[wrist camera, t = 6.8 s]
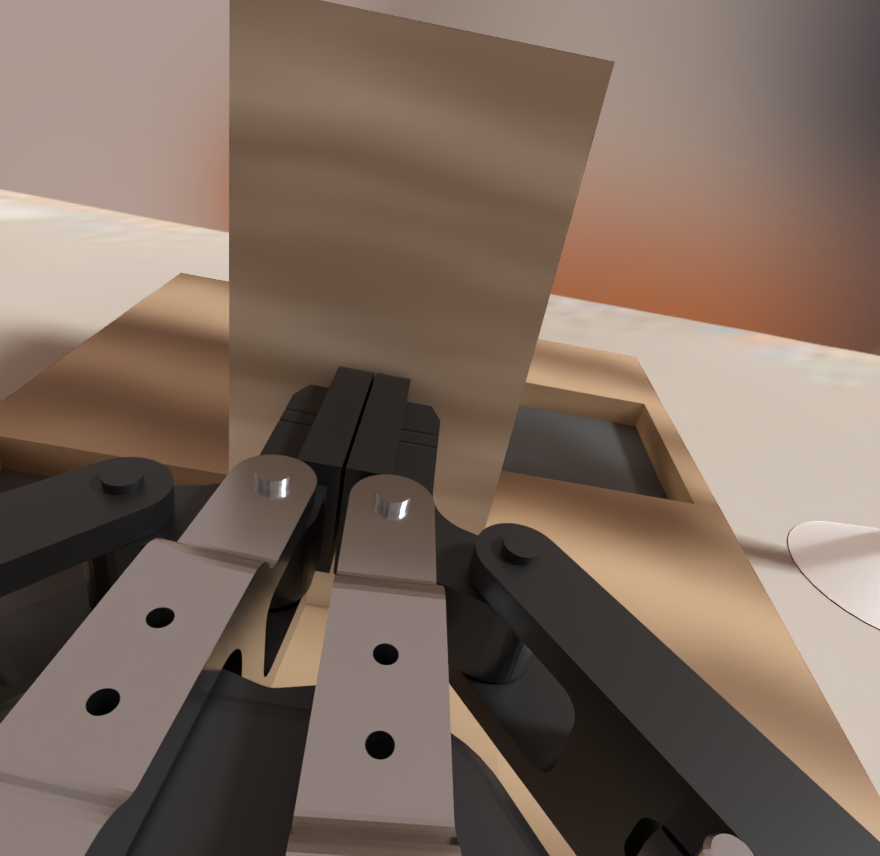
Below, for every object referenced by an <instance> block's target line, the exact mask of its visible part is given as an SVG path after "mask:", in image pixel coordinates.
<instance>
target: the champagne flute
mask: <svg viewBox="0 0 880 856" xmlns="http://www.w3.org/2000/svg"><path fill="white" fill-rule="evenodd" d="M788 545H789V550H790V552H791V555H792V557H793V559H794V561H795V562H796V564H797V565H798V567H799V568H800V570H801V571H802V572H803V573H804V575H805V576H806V577H807V578H808V579H809V580H810V581H811V582H812V583H813V584H814V585H815V586H816V587H817V588H818V589H819V590H820V591H822V592H823V593H824V594H825V595H826V596H827V597H828V598H830V599H831V600H832V601H834V602H835V603H837V604H838V605H839V606H841V607H842V608H843V609H845V610H846V611H848V612H850V613H851V614H853V615H855V616H856V617H858V618H859V619H861V620H863V621H864V622H866V623H868V624H870V625H872V626H874V627H876V628H878V629H880V529H879V528H872V527H864V526H857V525H849V524H842V523H834V522H827V521H811V522H805V523H801V524H799V525H797V526H795V527H794V528H793V529H792V530H791V531H790V533H789V537H788Z"/></svg>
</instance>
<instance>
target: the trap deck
mask: <svg viewBox="0 0 880 856" xmlns="http://www.w3.org/2000/svg"><path fill="white" fill-rule="evenodd" d="M119 457H141V458H147V459H151V460H154V461H157V462H159V463H161V464H163V465H164V466H166V467H167V468H168V469H169V470H170V471H171V473H172V475H173V480H174V486H193V485H211V484H218V483H222V482H223V480H224V479H225V478H226V476H227V475H228V474H229V282H227V281H222V280H216V279H211V278H206V277H200V276H195V275H189V274H184V273H180V274H179V275H177V276H176V277H175V278H173V279H172V280H170V281H169V282H168V283H166V284H165V285H164V286H162V287H161V288H159V289H158V290H157V291H155V292H154V293H152V294H151V295H150V296H148V297H147V298H145V299H144V300H143V301H141V302H140V303H138V304H137V305H136V306H134V307H133V308H131V309H130V310H129V311H127V312H126V313H125V314H123V315H122V316H120V317H119V318H118V319H116V320H115V321H113V322H112V323H111V324H109V325H108V326H106V327H105V328H104V329H102V330H101V331H99V332H98V333H97V334H95V335H94V336H93V337H91V338H90V339H88V340H87V341H86V342H84V343H83V344H81V345H80V346H79V347H77V348H76V349H74V350H73V351H72V352H70V353H69V354H67V355H66V356H65V357H63V358H62V359H60V360H59V361H58V362H56V363H55V364H54V365H52V366H51V367H49V368H48V369H47V370H45V371H44V372H42V373H41V374H40V375H38V376H37V377H35V378H34V379H33V380H31V381H30V382H28V383H27V384H26V385H24V386H23V387H21V388H20V389H19V390H17V391H16V392H15V393H13V394H12V395H10V396H9V397H8V398H6V399H5V400H3V401H2V402H1V403H0V493H3V492H7V491H10V490H13V489H16V488H19V487H22V486H25V485H28V484H32V483H35V482H38V481H41V480H44V479H47V478H50V477H54V476H57V475H60V474H63V473H66V472H69V471H72V470H76V469H79V468H82V467H85V466H88V465H91V464H94V463H97V462H101V461H104V460H108V459H113V458H119ZM499 523H515V524H520V525H524V526H528V527H530V528H533V529H535V530H537V531H539V532H541V533H543V534H544V535H546V536H547V537H548V538H549V539H551V540H552V541H553V542H554V543H555V544H556V545H557V546H558V547H560V548H561V549H562V550H563V551H564V552H565V553H566V554H567V555H568V556H569V557H570V558H572V559H573V560H574V561H575V562H576V563H577V564H578V565H579V566H580V567H581V568H582V569H584V570H585V571H586V572H587V573H588V574H589V575H590V576H591V577H592V578H593V579H594V580H595V581H597V582H598V583H599V584H600V585H601V586H602V587H603V588H604V589H605V590H606V591H607V592H609V593H610V594H611V595H612V596H613V597H614V598H615V599H616V600H617V601H618V602H619V603H621V604H622V605H623V606H624V607H625V608H626V609H627V610H628V611H629V612H630V613H631V614H633V615H634V616H635V617H636V618H637V619H638V620H639V621H640V622H641V623H642V624H643V625H644V626H646V627H647V628H648V629H649V630H650V631H651V632H652V633H653V634H654V635H655V636H656V637H658V638H659V639H660V640H661V641H662V642H663V643H664V644H665V645H666V646H667V647H668V648H670V649H671V650H672V651H673V652H674V653H675V654H676V655H677V656H678V657H679V658H680V659H682V660H683V661H684V662H685V663H686V664H687V665H688V666H689V667H690V668H691V669H692V670H694V671H695V672H696V673H697V674H698V675H699V676H700V677H701V678H702V679H703V680H704V681H705V682H707V683H708V684H709V685H710V686H711V687H712V688H713V689H714V690H715V691H716V692H717V693H719V694H720V695H721V696H722V697H723V698H724V699H725V700H726V701H727V702H728V703H729V704H731V705H732V706H733V707H734V708H735V709H736V710H737V711H738V712H739V713H740V714H741V715H743V716H744V717H745V718H746V719H747V720H748V721H749V722H750V723H751V724H752V725H753V726H754V727H756V728H757V729H758V730H759V731H760V732H761V733H762V734H763V735H764V736H765V737H766V738H768V739H769V740H770V741H771V742H772V743H773V744H774V745H775V746H776V747H777V748H778V749H780V750H781V751H782V752H783V753H784V754H785V755H786V756H787V757H788V758H789V759H790V760H792V761H793V762H794V763H795V764H796V765H797V766H798V767H799V768H800V769H801V770H802V771H803V772H805V773H806V774H807V775H808V776H809V777H810V778H811V779H812V780H813V781H814V782H815V783H817V784H818V785H819V786H820V787H821V788H822V789H823V790H824V791H825V792H826V793H827V794H829V795H830V796H831V797H832V798H833V799H834V800H835V801H836V802H837V803H838V804H839V805H841V806H842V807H843V808H844V809H845V810H846V811H847V812H848V813H849V814H850V815H851V816H852V817H854V818H855V819H856V820H857V821H858V822H859V823H860V824H861V825H862V826H863V827H864V828H866V829H867V830H868V831H869V832H870V833H871V834H872V835H873V836H874V837H875V838H876V839H878V840H879V841H880V796H879V795H878V793H877V791H876V789H875V787H874V786H873V784H872V782H871V780H870V778H869V777H868V775H867V773H866V771H865V769H864V768H863V766H862V764H861V762H860V760H859V759H858V757H857V755H856V753H855V751H854V750H853V748H852V746H851V744H850V742H849V740H848V739H847V737H846V735H845V733H844V731H843V730H842V728H841V726H840V724H839V722H838V721H837V719H836V717H835V715H834V713H833V712H832V710H831V708H830V706H829V704H828V703H827V701H826V699H825V697H824V695H823V693H822V692H821V690H820V688H819V686H818V684H817V683H816V681H815V679H814V677H813V675H812V674H811V672H810V670H809V668H808V666H807V665H806V663H805V661H804V659H803V657H802V656H801V654H800V652H799V650H798V648H797V647H796V645H795V643H794V641H793V639H792V637H791V636H790V634H789V632H788V630H787V628H786V627H785V625H784V623H783V621H782V619H781V618H780V616H779V614H778V612H777V610H776V609H775V607H774V605H773V603H772V601H771V600H770V598H769V596H768V594H767V592H766V591H765V589H764V587H763V585H762V583H761V581H760V580H759V578H758V576H757V574H756V572H755V571H754V569H753V567H752V565H751V563H750V562H749V560H748V558H747V556H746V554H745V553H744V551H743V549H742V547H741V545H740V544H739V542H738V540H737V538H736V536H735V534H734V533H733V531H732V529H731V527H730V525H729V524H728V522H727V520H726V518H725V516H724V515H723V513H722V511H721V509H720V507H719V506H718V504H717V502H716V500H715V498H714V497H713V495H712V493H711V491H710V489H709V488H708V486H707V484H706V482H705V480H704V478H703V477H702V475H701V473H700V471H699V469H698V468H697V466H696V464H695V462H694V460H693V459H692V457H691V455H690V453H689V451H688V450H687V448H686V446H685V444H684V442H683V441H682V439H681V437H680V435H679V433H678V431H677V430H676V428H675V426H674V424H673V422H672V421H671V419H670V417H669V415H668V413H667V412H666V410H665V408H664V406H663V404H662V403H661V401H660V399H659V397H658V395H657V394H656V392H655V390H654V388H653V386H652V385H651V383H650V381H649V379H648V377H647V375H646V374H645V372H644V370H643V368H642V366H641V365H640V363H639V361H638V359H637V357H632V356H627V355H621V354H616V353H610V352H605V351H600V350H594V349H589V348H583V347H578V346H573V345H567V344H562V343H556V342H551V341H546V340H540V339H538V340H537V343H536V347H535V350H534V354H533V358H532V361H531V365H530V368H529V372H528V376H527V379H526V383H525V386H524V390H523V394H522V397H521V401H520V404H519V408H518V412H517V415H516V419H515V422H514V426H513V430H512V433H511V437H510V440H509V444H508V448H507V451H506V455H505V459H504V462H503V466H502V469H501V473H500V477H499V480H498V484H497V487H496V491H495V495H494V498H493V502H492V505H491V509H490V513H489V516H488V520H487V523H486V527H485V528H487V527H489V526H491V525H495V524H499ZM83 581H85V575H84V568H83V563H81V564H79V565H76V566H74V567H72V568H69V569H67V570H64V571H62V572H60V573H57V574H55V575H53V576H50V577H48V578H45V579H43V580H41V581H38V582H36V583H34V584H31V585H29V586H27V587H24V588H22V589H19V590H17V591H15V592H12V593H10V594H8V595H6V596H4V597H2V598H0V618H1V617H4V616H6V615H8V614H10V613H13V612H15V611H17V610H19V609H22V608H24V607H26V606H28V605H31V604H33V603H35V602H37V601H40V600H42V599H44V598H47V597H49V596H51V595H53V594H56V593H58V592H60V591H62V590H65V589H67V588H69V587H71V586H74V585H76V584H78V583H80V582H83ZM328 612H329V608H327V607H321V606H315V605H309V604H305V608H304V610H303V613H302V615H301V617H300V620H299V622H298V624H297V627H296V629H295V631H294V634H293V636H292V639H291V641H290V643H289V646H288V648H287V650H286V653H285V655H284V658H283V660H282V662H281V665H280V667H279V669H278V672H277V674H276V676H275V679H274V681H273V684H272V686H271V688H282V687H296V686H311V685H316V682H317V676H318V670H319V664H320V658H321V653H322V647H323V641H324V635H325V629H326V623H327V617H328ZM449 699H450V725H451V733H452V734H453V735H455V736H456V737H457V738H459V739H460V740H461V741H463V742H464V743H466V744H467V745H468V746H469V747H470V748H471V749H472V750H473V751H474V752H475V753H476V754H478V755H479V756H480V757H481V759H482V760H483V761H484V762H485V763H486V764H487V766H488V767H489V768H490V769H491V770H492V771H493V773H494V774H495V775H496V777H497V778H498V779H499V781H500V782H501V784H502V785H503V786H504V788H505V789H506V791H507V792H508V794H509V795H510V797H511V798H512V800H513V801H514V803H515V804H516V806H517V807H518V809H519V810H520V812H521V813H522V815H523V816H524V818H525V819H526V821H527V822H528V824H529V825H530V827H531V828H532V830H533V831H534V833H535V834H536V836H537V837H538V839H539V840H540V842H541V843H542V845H543V846H544V848H545V849H546V851H547V852H548V854H549V855H550V856H576V854H575V853H574V852H573V850H572V849H571V848H570V846H569V845H568V843H567V842H566V841H565V839H564V838H563V837H562V835H561V834H560V833H559V831H558V830H557V829H556V827H555V826H554V825H553V823H552V822H551V821H550V819H549V818H548V816H547V815H546V814H545V812H544V811H543V810H542V808H541V807H540V806H539V804H538V803H537V802H536V800H535V799H534V798H533V796H532V795H531V793H530V792H529V791H528V789H527V788H526V787H525V785H524V784H523V783H522V781H521V780H520V779H519V777H518V776H517V775H516V773H515V772H514V770H513V769H512V768H511V766H510V765H509V764H508V762H507V761H506V760H505V758H504V757H503V756H502V754H501V753H500V752H499V750H498V749H497V748H496V746H495V745H494V743H493V742H492V741H491V739H490V738H489V737H488V735H487V734H486V733H485V731H484V730H483V729H482V727H481V726H480V725H479V723H478V722H477V720H476V719H475V718H474V716H473V715H472V714H471V712H470V711H469V710H468V708H467V707H466V706H465V704H464V703H463V702H462V700H461V699H460V698H459V696H458V695H457V693H456V692H455V691H454V689H453V688H452V687H451V685H450V684H449Z"/></svg>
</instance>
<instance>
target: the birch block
mask: <svg viewBox="0 0 880 856" xmlns="http://www.w3.org/2000/svg"><path fill="white" fill-rule="evenodd" d="M613 66H614V62H613V61H608V60H603V59H599V58H594V57H589V56H584V55H580V54H575V53H570V52H565V51H560V50H556V49H551V48H546V47H541V46H537V45H532V44H527V43H522V42H517V41H513V40H508V39H503V38H498V37H493V36H489V35H484V34H479V33H474V32H470V31H465V30H460V29H455V28H450V27H445V26H441V25H436V24H431V23H426V22H422V21H417V20H412V19H407V18H402V17H398V16H393V15H388V14H383V13H378V12H374V11H368V10H364V9H359V8H355V7H350V6H345V5H340V4H335V3H331V2H326V1H321V0H230V97H229V99H230V100H229V103H230V104H229V105H230V106H229V107H230V108H229V109H230V110H229V116H230V117H229V119H230V121H229V122H230V123H229V126H230V127H229V158H230V159H229V179H230V180H229V472H230V471H231V470H232V469H233V468H234V467H235V466H236V465H237V464H238V463H240V462H242V461H244V460H246V459H248V458H251V457H255V456H259V455H260V453H261V451H262V450H263V448H264V446H265V444H266V442H267V441H268V439H269V437H270V435H271V433H272V432H273V430H274V428H275V426H276V424H277V423H278V422H279V420H280V417H281V415H282V414H283V412H284V411H285V409H286V406H287V405H288V403H289V401H290V399H291V397H292V396H293V394H295V393H296V392H298V391H300V390H301V389H303V388H305V387H306V386H308V385H310V384H311V385H316V386H322V387H327V388H329V387H330V385H331V383H332V381H333V379H334V376H335V374H336V372H337V370H338V368H339V366H342V367H347V368H353V369H358V370H364V371H369V372H374V380H375V377H376V374H377V373H381V374H386V375H392V376H397V377H403V378H408V379H411V383H410V389H409V395H408V400H407V402H411V403H416V404H422V405H427V406H432V408H433V409H434V411H435V413H436V414H437V416H438V418H439V419H440V429H439V437H438V438H439V439H438V448H437V458H436V468H435V478H434V487H433V500H434V504H435V506H436V508H437V509H438V511H439V512H440V513H441V514H442V515H443V516H444V517H445V518H446V519H447V520H448V521H450V522H451V523H453V524H454V525H456V526H457V527H460V528H462V529H464V530H466V531H468V532H471V533H473V534H476V535H479V534H480V533H481V531H482V530H484V529H485V527H486V523H487V520H488V516H489V513H490V509H491V505H492V502H493V498H494V495H495V491H496V487H497V484H498V480H499V477H500V473H501V469H502V466H503V462H504V459H505V455H506V451H507V448H508V444H509V440H510V437H511V433H512V430H513V426H514V422H515V419H516V415H517V412H518V408H519V404H520V401H521V397H522V394H523V390H524V386H525V383H526V379H527V376H528V372H529V368H530V365H531V361H532V358H533V354H534V350H535V347H536V343H537V340H538V336H539V332H540V329H541V325H542V322H543V318H544V314H545V311H546V307H547V304H548V300H549V296H550V293H551V289H552V285H553V282H554V278H555V275H556V271H557V267H558V263H559V260H560V257H561V253H562V249H563V246H564V242H565V239H566V235H567V231H568V228H569V224H570V221H571V217H572V213H573V210H574V206H575V202H576V199H577V195H578V192H579V188H580V185H581V181H582V177H583V173H584V170H585V166H586V163H587V159H588V156H589V152H590V149H591V145H592V141H593V138H594V134H595V130H596V127H597V123H598V120H599V116H600V112H601V109H602V105H603V102H604V98H605V94H606V91H607V87H608V84H609V80H610V76H611V73H612V69H613ZM335 555H336V552H335ZM334 563H335V556H334V559H333V563H332V566H331V570H330V573H324V572H319V571H315V573H314V576H313V579H312V583H311V585H310V588H309V590H308V591H307V595H306V604H309V605H315V606H321V607H327V608H329V606H330V600H331V594H332V588H333V582H334V577H335V574H333V571H334Z"/></svg>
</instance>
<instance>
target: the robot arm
mask: <svg viewBox="0 0 880 856" xmlns="http://www.w3.org/2000/svg"><path fill="white" fill-rule="evenodd" d="M410 383H411V379H408V378H403V377H397V376H392V375H386V374H381V373H377V374H376V377H375V380H374V372H369V371H364V370H358V369H353V368H347V367H342V366H339V368H338V370H337V372H336V374H335V376H334V379H333V381H332V383H331V385H330V387H329V388H327V387H322V386H316V385H311V384H310V385H308V386H306V387H305V388H303V389H301V390H300V391H298V392H296V393H295V394H293V396H292V397H291V399H290V401H289V403H288V405H287V406H286V409H285V411H284V412H283V414H282V415H281V417H280V420H279V422H278V423H277V424H276V426H275V428H274V430H273V432H272V433H271V435H270V437H269V439H268V441H267V442H266V444H265V446H264V448H263V450H262V451H261V453H260V455H259V456H255V457H251V458H248V459H246V460H244V461H242V462H240V463H238V464H237V465H236V466H235V467H234V468H233V469H232V470H231V471H230V472H229V474H228V475H227V476H226V478H225V479H224V480H223V482H222V483H218V484H211V485H193V486H174V480H173V475H172V473H171V471H170V470H169V469H168V468H167V467H166V466H164V465H163V464H161V463H159V462H157V461H154V460H151V459H147V458H141V457H119V458H113V459H108V460H104V461H101V462H97V463H94V464H91V465H88V466H85V467H82V468H79V469H76V470H72V471H69V472H66V473H63V474H60V475H57V476H54V477H50V478H47V479H44V480H41V481H38V482H35V483H32V484H28V485H25V486H22V487H19V488H16V489H13V490H10V491H7V492H3V493H0V598H2V597H4V596H6V595H8V594H10V593H12V592H15V591H17V590H19V589H22V588H24V587H27V586H29V585H31V584H34V583H36V582H38V581H41V580H43V579H45V578H48V577H50V576H53V575H55V574H57V573H60V572H62V571H64V570H67V569H69V568H72V567H74V566H76V565H79V564H81V563H83V568H84V575H85V581H83V582H80V583H78V584H76V585H74V586H71V587H69V588H67V589H65V590H62V591H60V592H58V593H56V594H53V595H51V596H49V597H47V598H44V599H42V600H40V601H37V602H35V603H33V604H31V605H28V606H26V607H24V608H22V609H19V610H17V611H15V612H13V613H10V614H8V615H6V616H4V617H1V618H0V856H550V855H549V854H548V852H547V851H546V849H545V848H544V846H543V845H542V843H541V842H540V840H539V839H538V837H537V836H536V834H535V833H534V831H533V830H532V828H531V827H530V825H529V824H528V822H527V821H526V819H525V818H524V816H523V815H522V813H521V812H520V810H519V809H518V807H517V806H516V804H515V803H514V801H513V800H512V798H511V797H510V795H509V794H508V792H507V791H506V789H505V788H504V786H503V785H502V784H501V782H500V781H499V779H498V778H497V777H496V775H495V774H494V773H493V771H492V770H491V769H490V768H489V767H488V766H487V764H486V763H485V762H484V761H483V760H482V759H481V757H480V756H479V755H478V754H476V753H475V752H474V751H473V750H472V749H471V748H470V747H469V746H468V745H467V744H466V743H464V742H463V741H461V740H460V739H459V738H457V737H456V736H455V735H453V734H452V733H451V725H450V699H449V684H450V685H451V687H452V688H453V689H454V691H455V692H456V693H457V695H458V696H459V698H460V699H461V700H462V702H463V703H464V704H465V706H466V707H467V708H468V710H469V711H470V712H471V714H472V715H473V716H474V718H475V719H476V720H477V722H478V723H479V725H480V726H481V727H482V729H483V730H484V731H485V733H486V734H487V735H488V737H489V738H490V739H491V741H492V742H493V743H494V745H495V746H496V748H497V749H498V750H499V752H500V753H501V754H502V756H503V757H504V758H505V760H506V761H507V762H508V764H509V765H510V766H511V768H512V769H513V770H514V772H515V773H516V775H517V776H518V777H519V779H520V780H521V781H522V783H523V784H524V785H525V787H526V788H527V789H528V791H529V792H530V793H531V795H532V796H533V798H534V799H535V800H536V802H537V803H538V804H539V806H540V807H541V808H542V810H543V811H544V812H545V814H546V815H547V816H548V818H549V819H550V821H551V822H552V823H553V825H554V826H555V827H556V829H557V830H558V831H559V833H560V834H561V835H562V837H563V838H564V839H565V841H566V842H567V843H568V845H569V846H570V848H571V849H572V850H573V852H574V853H575V854H576V856H880V841H879V840H878V839H876V838H875V837H874V836H873V835H872V834H871V833H870V832H869V831H868V830H867V829H866V828H864V827H863V826H862V825H861V824H860V823H859V822H858V821H857V820H856V819H855V818H854V817H852V816H851V815H850V814H849V813H848V812H847V811H846V810H845V809H844V808H843V807H842V806H841V805H839V804H838V803H837V802H836V801H835V800H834V799H833V798H832V797H831V796H830V795H829V794H827V793H826V792H825V791H824V790H823V789H822V788H821V787H820V786H819V785H818V784H817V783H815V782H814V781H813V780H812V779H811V778H810V777H809V776H808V775H807V774H806V773H805V772H803V771H802V770H801V769H800V768H799V767H798V766H797V765H796V764H795V763H794V762H793V761H792V760H790V759H789V758H788V757H787V756H786V755H785V754H784V753H783V752H782V751H781V750H780V749H778V748H777V747H776V746H775V745H774V744H773V743H772V742H771V741H770V740H769V739H768V738H766V737H765V736H764V735H763V734H762V733H761V732H760V731H759V730H758V729H757V728H756V727H754V726H753V725H752V724H751V723H750V722H749V721H748V720H747V719H746V718H745V717H744V716H743V715H741V714H740V713H739V712H738V711H737V710H736V709H735V708H734V707H733V706H732V705H731V704H729V703H728V702H727V701H726V700H725V699H724V698H723V697H722V696H721V695H720V694H719V693H717V692H716V691H715V690H714V689H713V688H712V687H711V686H710V685H709V684H708V683H707V682H705V681H704V680H703V679H702V678H701V677H700V676H699V675H698V674H697V673H696V672H695V671H694V670H692V669H691V668H690V667H689V666H688V665H687V664H686V663H685V662H684V661H683V660H682V659H680V658H679V657H678V656H677V655H676V654H675V653H674V652H673V651H672V650H671V649H670V648H668V647H667V646H666V645H665V644H664V643H663V642H662V641H661V640H660V639H659V638H658V637H656V636H655V635H654V634H653V633H652V632H651V631H650V630H649V629H648V628H647V627H646V626H644V625H643V624H642V623H641V622H640V621H639V620H638V619H637V618H636V617H635V616H634V615H633V614H631V613H630V612H629V611H628V610H627V609H626V608H625V607H624V606H623V605H622V604H621V603H619V602H618V601H617V600H616V599H615V598H614V597H613V596H612V595H611V594H610V593H609V592H607V591H606V590H605V589H604V588H603V587H602V586H601V585H600V584H599V583H598V582H597V581H595V580H594V579H593V578H592V577H591V576H590V575H589V574H588V573H587V572H586V571H585V570H584V569H582V568H581V567H580V566H579V565H578V564H577V563H576V562H575V561H574V560H573V559H572V558H570V557H569V556H568V555H567V554H566V553H565V552H564V551H563V550H562V549H561V548H560V547H558V546H557V545H556V544H555V543H554V542H553V541H552V540H551V539H549V538H548V537H547V536H546V535H544V534H543V533H541V532H539V531H537V530H535V529H533V528H530V527H528V526H524V525H520V524H515V523H499V524H495V525H491V526H489V527H487V528H485V529H484V530H482V531H481V533H480V534H479V535H476V534H473V533H471V532H468V531H466V530H464V529H462V528H460V527H457V526H456V525H454V524H453V523H451V522H450V521H448V520H447V519H446V518H445V517H444V516H443V515H442V514H441V513H440V512H439V511H438V509H437V508H436V506H435V504H434V500H433V487H434V478H435V468H436V458H437V448H438V439H439V438H438V437H439V429H440V419H439V418H438V416H437V414H436V413H435V411H434V409H433V408H432V406H427V405H422V404H416V403H411V402H407V400H408V395H409V389H410ZM335 552H336V555H335ZM334 556H335V563H334V571H333V574H335V577H334V582H333V588H332V594H331V600H330V606H329V612H328V617H327V623H326V629H325V635H324V641H323V647H322V653H321V658H320V664H319V670H318V676H317V682H316V685H311V686H296V687H282V688H271V686H272V684H273V681H274V679H275V676H276V674H277V672H278V669H279V667H280V665H281V662H282V660H283V658H284V655H285V653H286V650H287V648H288V646H289V643H290V641H291V639H292V636H293V634H294V631H295V629H296V627H297V624H298V622H299V620H300V617H301V615H302V613H303V610H304V608H305V604H306V595H307V591H308V590H309V588H310V585H311V583H312V579H313V576H314V573H315V571H319V572H324V573H330V570H331V566H332V563H333V559H334Z"/></svg>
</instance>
